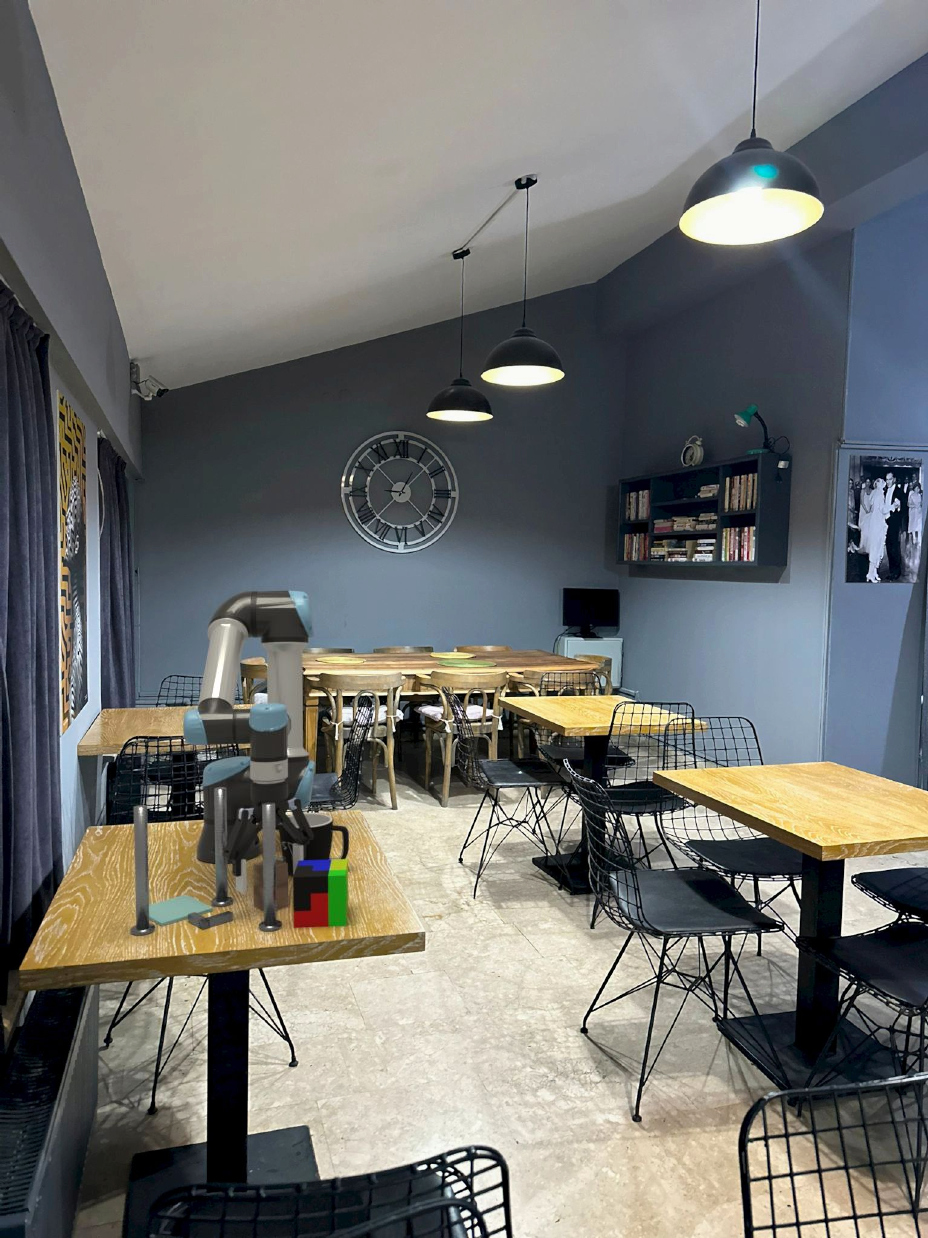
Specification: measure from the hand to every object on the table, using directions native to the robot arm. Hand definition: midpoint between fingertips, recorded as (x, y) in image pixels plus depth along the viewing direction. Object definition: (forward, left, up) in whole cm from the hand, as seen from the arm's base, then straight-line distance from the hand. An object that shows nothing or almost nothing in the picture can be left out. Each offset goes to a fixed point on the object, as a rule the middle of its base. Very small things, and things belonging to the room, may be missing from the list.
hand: (270, 883), depth 177 cm
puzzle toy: (+12, +4, -5) cm, 13 cm away
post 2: (-9, -6, -5) cm, 12 cm away
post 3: (+9, -6, -5) cm, 12 cm away
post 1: (-7, -24, -5) cm, 25 cm away
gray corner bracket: (-2, -12, -5) cm, 13 cm away
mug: (-13, +18, -5) cm, 23 cm away
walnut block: (0, 0, -5) cm, 5 cm away
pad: (-12, -15, -5) cm, 20 cm away
